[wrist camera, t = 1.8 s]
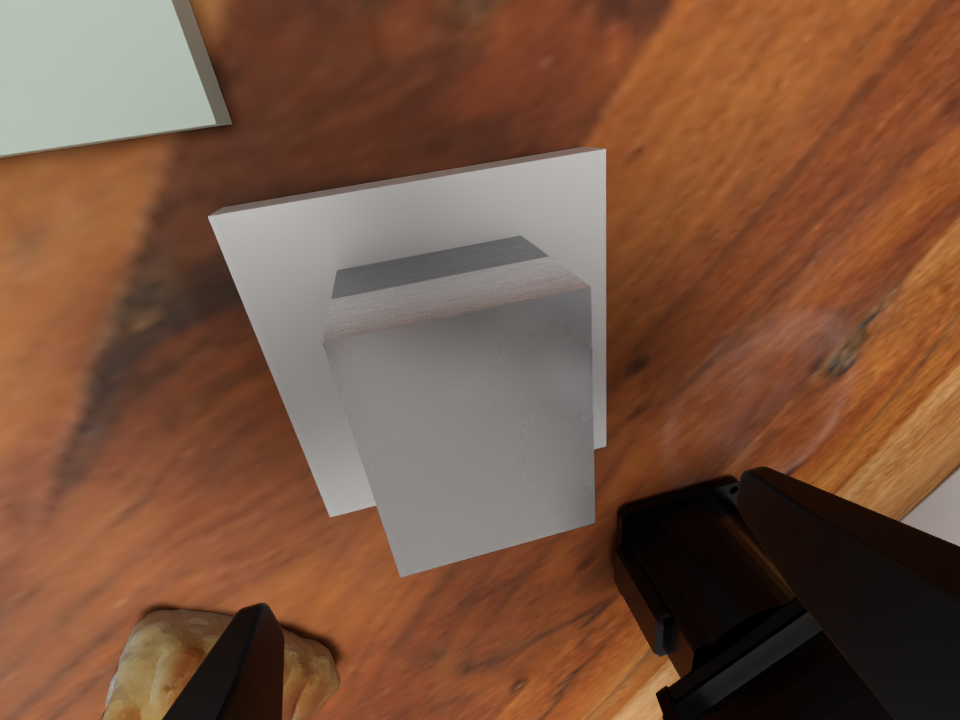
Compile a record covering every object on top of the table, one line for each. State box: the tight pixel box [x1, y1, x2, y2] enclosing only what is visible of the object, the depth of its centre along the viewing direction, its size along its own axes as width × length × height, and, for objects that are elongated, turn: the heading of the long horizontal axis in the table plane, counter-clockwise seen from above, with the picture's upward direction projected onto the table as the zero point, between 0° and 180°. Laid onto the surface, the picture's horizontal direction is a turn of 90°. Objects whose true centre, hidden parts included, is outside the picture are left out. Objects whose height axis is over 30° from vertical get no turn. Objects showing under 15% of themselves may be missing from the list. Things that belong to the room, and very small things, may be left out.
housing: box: [322, 236, 595, 577], centre depth 13 cm, size 6×7×5 cm
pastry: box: [101, 610, 340, 720], centre depth 20 cm, size 9×7×4 cm
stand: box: [208, 147, 606, 517], centre depth 16 cm, size 11×11×2 cm
